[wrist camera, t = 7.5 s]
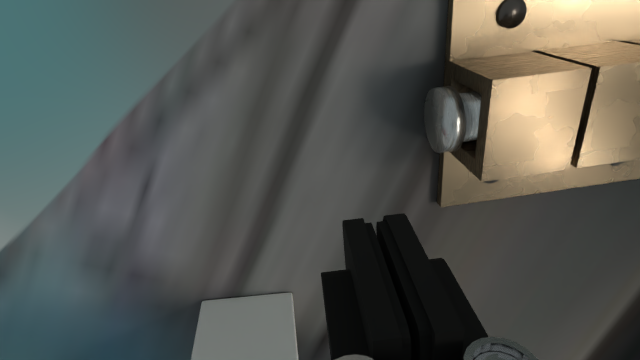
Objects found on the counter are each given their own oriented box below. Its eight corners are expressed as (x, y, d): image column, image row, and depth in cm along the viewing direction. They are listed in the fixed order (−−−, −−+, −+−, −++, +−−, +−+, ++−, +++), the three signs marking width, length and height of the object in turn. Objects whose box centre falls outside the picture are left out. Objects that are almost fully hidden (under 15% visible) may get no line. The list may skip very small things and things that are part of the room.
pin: (707, 47, 22) (774, 57, 19) (687, 104, 23) (746, 122, 20) (424, 81, 20) (450, 98, 18) (423, 139, 22) (446, 163, 19)
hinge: (717, -54, 20) (841, -62, 16) (644, 172, 26) (720, 211, 22) (449, -27, 19) (504, -28, 15) (437, 202, 25) (473, 249, 21)
